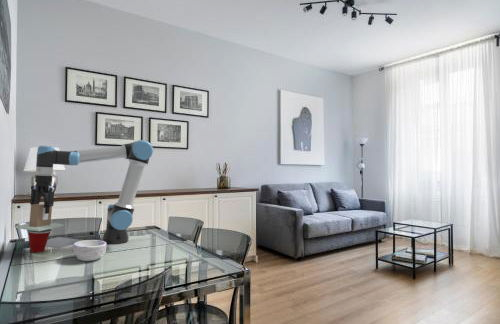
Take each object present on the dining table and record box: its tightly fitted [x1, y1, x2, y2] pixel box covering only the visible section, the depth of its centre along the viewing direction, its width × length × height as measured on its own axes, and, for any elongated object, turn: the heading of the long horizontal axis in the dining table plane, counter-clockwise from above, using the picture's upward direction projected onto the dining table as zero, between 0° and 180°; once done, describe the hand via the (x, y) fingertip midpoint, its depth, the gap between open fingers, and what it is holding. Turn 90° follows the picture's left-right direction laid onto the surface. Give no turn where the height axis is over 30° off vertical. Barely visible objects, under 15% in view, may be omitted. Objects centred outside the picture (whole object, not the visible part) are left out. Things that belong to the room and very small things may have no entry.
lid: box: [14, 202, 65, 231], centre depth 162 cm, size 15×15×12 cm
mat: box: [45, 236, 84, 249], centre depth 180 cm, size 20×20×1 cm
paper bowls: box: [72, 239, 108, 262], centre depth 157 cm, size 15×15×8 cm
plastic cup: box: [26, 228, 53, 253], centre depth 162 cm, size 11×11×12 cm
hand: (40, 219), depth 162 cm, fingers closed on lid, 5 cm apart
